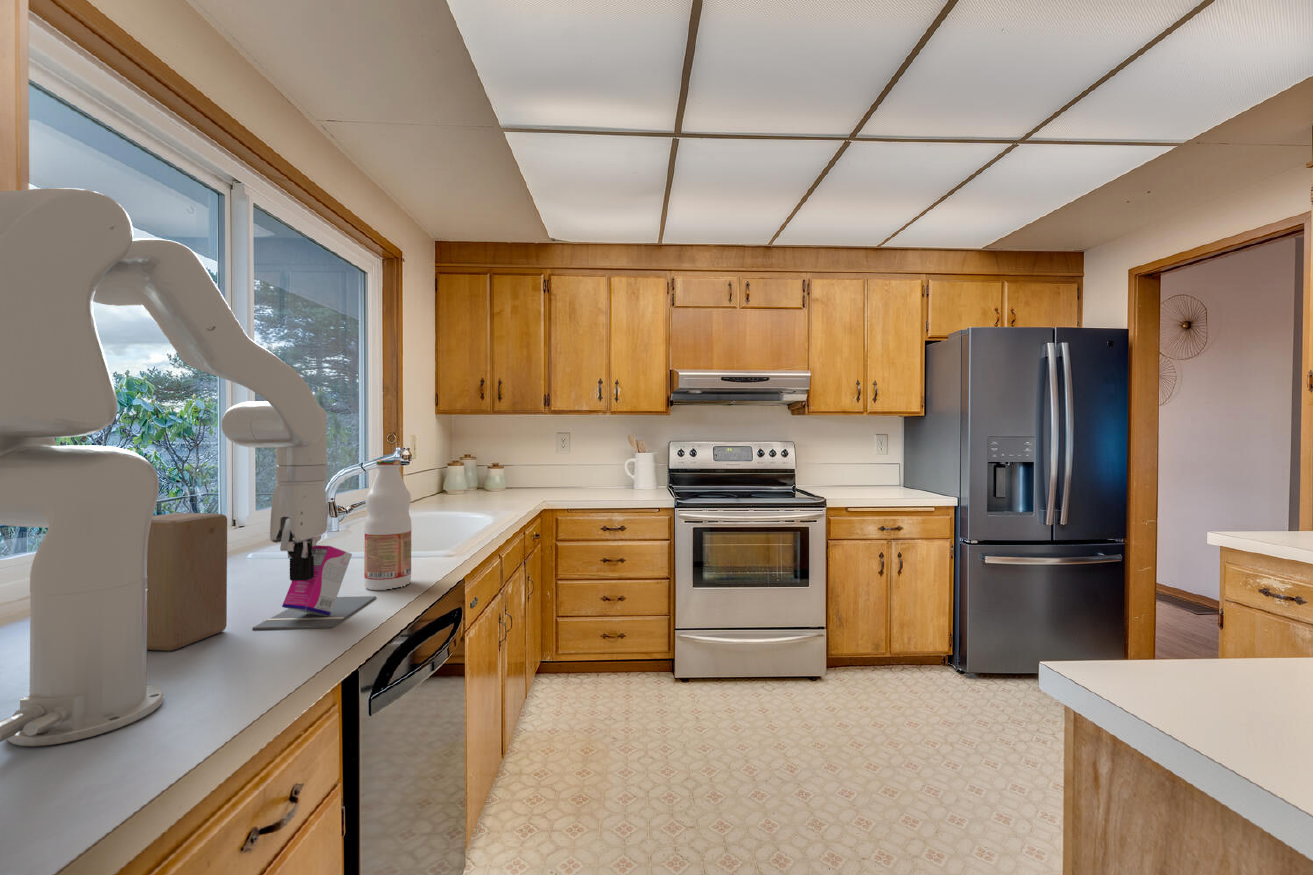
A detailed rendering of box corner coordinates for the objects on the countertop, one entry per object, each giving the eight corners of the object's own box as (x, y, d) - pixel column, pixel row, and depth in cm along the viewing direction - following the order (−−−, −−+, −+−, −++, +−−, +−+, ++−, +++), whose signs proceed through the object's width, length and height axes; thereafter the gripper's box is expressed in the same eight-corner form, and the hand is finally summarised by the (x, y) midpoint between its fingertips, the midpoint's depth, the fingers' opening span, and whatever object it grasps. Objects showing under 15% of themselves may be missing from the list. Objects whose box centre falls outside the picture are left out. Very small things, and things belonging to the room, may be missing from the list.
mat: (332, 627, 95) (332, 624, 95) (252, 629, 94) (252, 626, 94) (376, 598, 113) (376, 595, 113) (309, 599, 112) (309, 597, 112)
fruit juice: (374, 593, 116) (375, 460, 116) (357, 585, 122) (357, 459, 123) (418, 585, 123) (419, 459, 123) (400, 578, 130) (400, 458, 130)
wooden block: (229, 630, 94) (230, 512, 94) (172, 653, 84) (173, 521, 84) (176, 628, 95) (176, 511, 95) (113, 650, 85) (114, 520, 85)
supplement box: (305, 612, 102) (330, 552, 107) (330, 616, 100) (354, 554, 105) (279, 606, 97) (306, 543, 102) (305, 609, 95) (331, 545, 100)
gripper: (302, 472, 104) (302, 569, 104) (251, 478, 89) (251, 591, 89) (344, 472, 105) (344, 568, 105) (300, 478, 90) (300, 590, 90)
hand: (301, 579), depth 97 cm, fingers closed
